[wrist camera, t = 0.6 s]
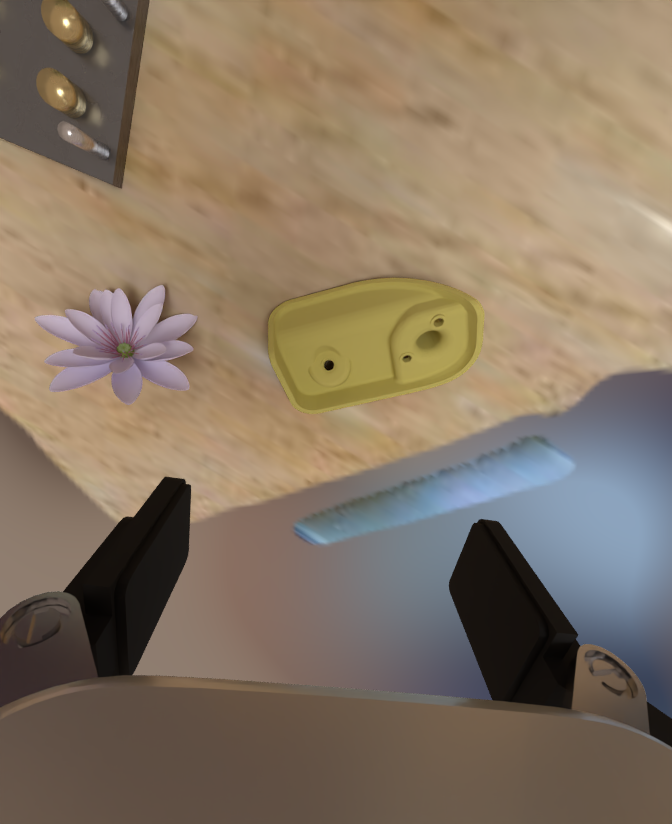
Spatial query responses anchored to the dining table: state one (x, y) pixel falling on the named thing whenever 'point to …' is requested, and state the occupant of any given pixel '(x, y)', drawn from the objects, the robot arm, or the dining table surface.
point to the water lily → (119, 344)
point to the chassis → (71, 79)
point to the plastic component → (372, 341)
